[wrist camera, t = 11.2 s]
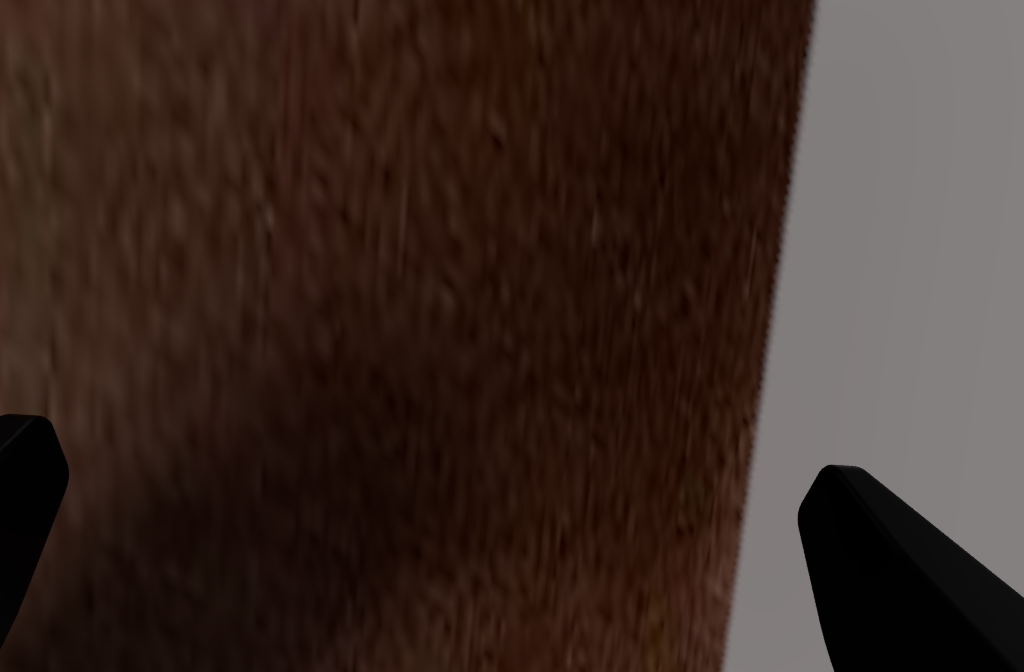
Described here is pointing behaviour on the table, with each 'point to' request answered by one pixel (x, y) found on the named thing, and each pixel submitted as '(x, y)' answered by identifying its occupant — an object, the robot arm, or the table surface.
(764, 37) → the table surface
